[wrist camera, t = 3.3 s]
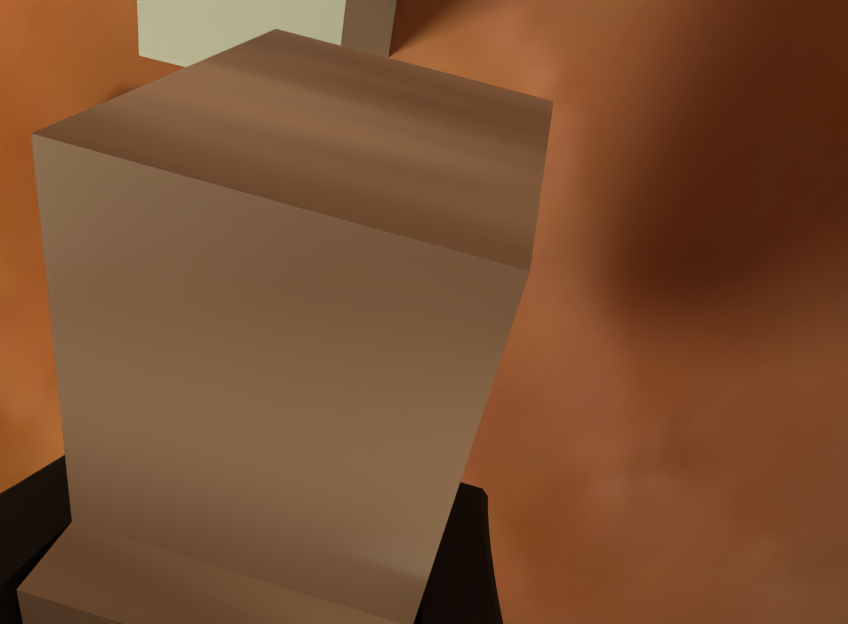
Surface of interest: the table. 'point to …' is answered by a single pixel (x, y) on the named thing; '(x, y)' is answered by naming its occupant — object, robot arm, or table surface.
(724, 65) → the table surface
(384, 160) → the tan stepped block
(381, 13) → the block
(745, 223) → the table surface
